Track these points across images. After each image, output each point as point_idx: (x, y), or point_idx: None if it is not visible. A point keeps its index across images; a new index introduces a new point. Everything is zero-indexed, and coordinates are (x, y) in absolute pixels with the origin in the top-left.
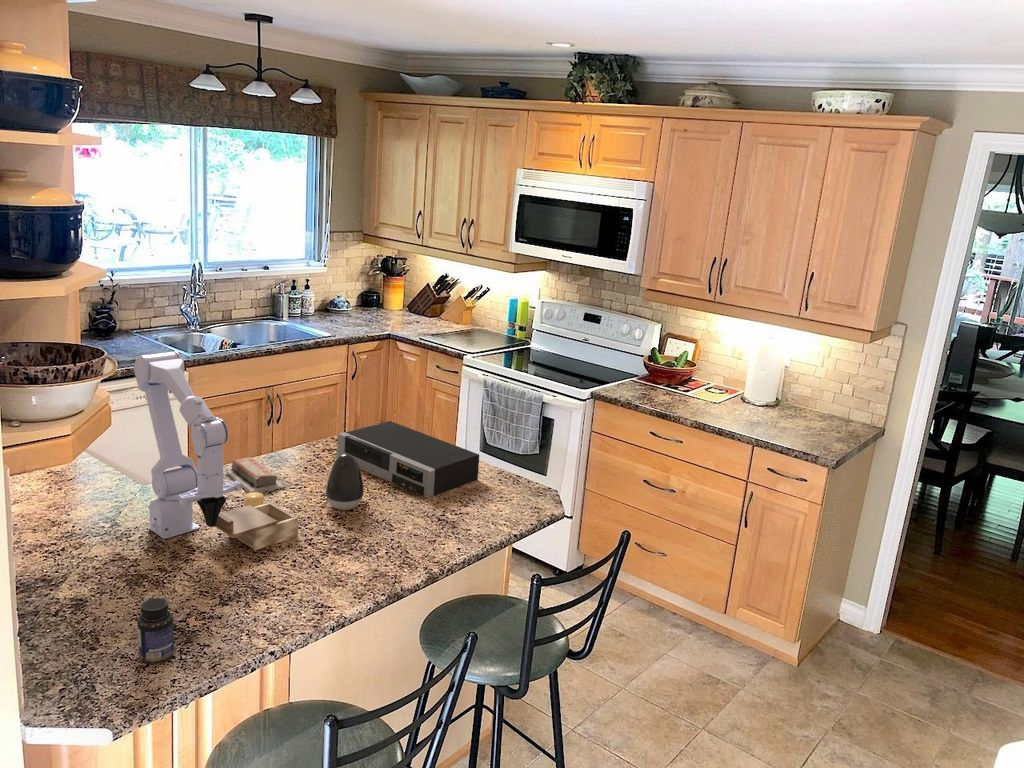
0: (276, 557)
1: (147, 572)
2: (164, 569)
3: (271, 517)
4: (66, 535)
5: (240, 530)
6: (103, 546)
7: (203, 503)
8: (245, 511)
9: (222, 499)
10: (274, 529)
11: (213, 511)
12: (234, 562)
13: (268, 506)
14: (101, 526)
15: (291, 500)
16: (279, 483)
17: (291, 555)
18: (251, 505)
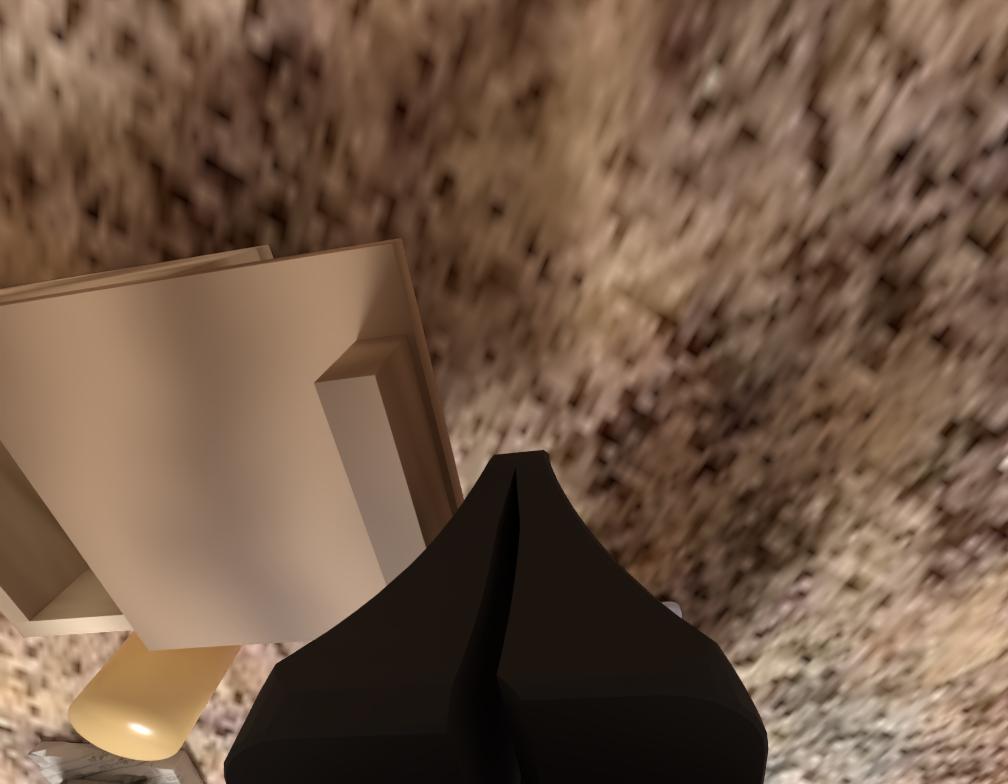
0: (136, 38)
1: (988, 313)
2: (884, 296)
3: None
4: (964, 778)
5: (293, 302)
6: (929, 659)
7: (763, 766)
8: (190, 588)
9: (313, 742)
10: (23, 294)
11: (528, 560)
12: (453, 138)
13: (51, 607)
14: (814, 780)
15: (6, 652)
16: (47, 772)
17: (11, 3)
18: (171, 665)
